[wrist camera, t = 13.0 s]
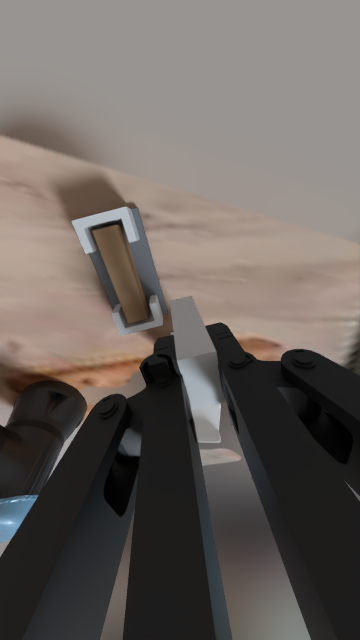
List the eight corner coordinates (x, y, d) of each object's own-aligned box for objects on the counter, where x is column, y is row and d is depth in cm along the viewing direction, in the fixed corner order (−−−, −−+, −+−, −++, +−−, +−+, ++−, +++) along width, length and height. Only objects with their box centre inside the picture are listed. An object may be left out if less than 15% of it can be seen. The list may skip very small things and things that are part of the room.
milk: (170, 331, 42) (178, 423, 22) (197, 334, 43) (229, 425, 23) (166, 354, 44) (170, 456, 24) (192, 357, 45) (216, 457, 25)
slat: (132, 312, 38) (128, 323, 33) (101, 230, 31) (92, 230, 27) (149, 308, 38) (147, 318, 33) (122, 225, 31) (116, 224, 27)
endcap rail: (120, 323, 40) (115, 337, 35) (79, 223, 32) (64, 222, 27) (167, 311, 40) (168, 323, 35) (138, 208, 31) (133, 204, 26)
